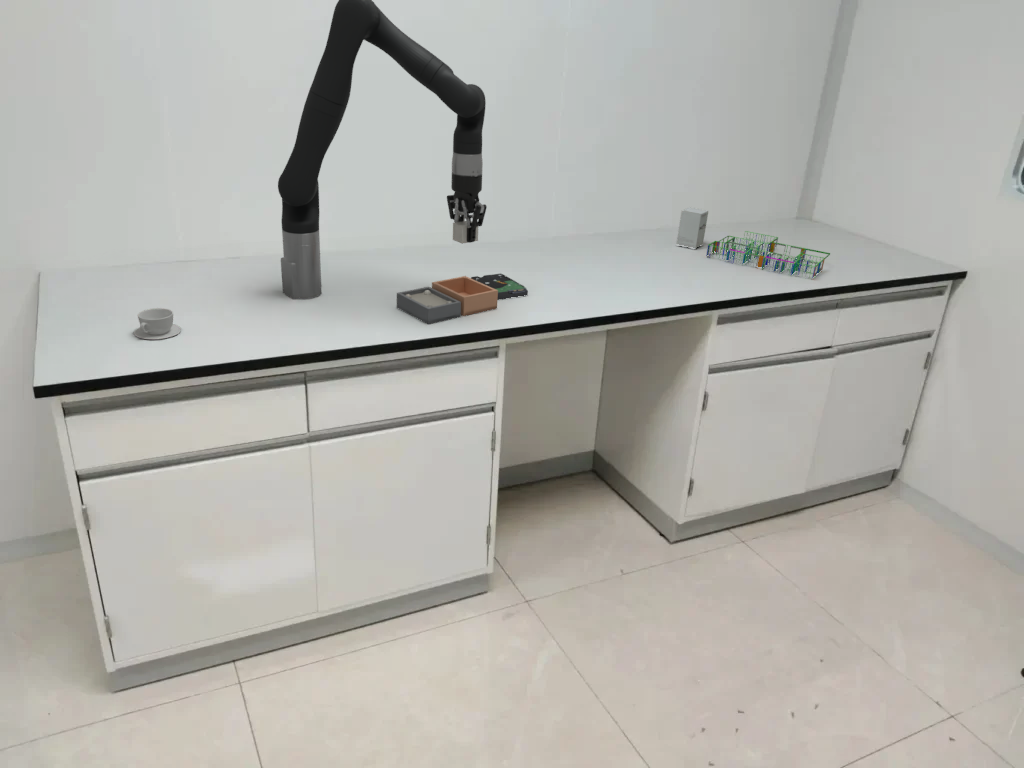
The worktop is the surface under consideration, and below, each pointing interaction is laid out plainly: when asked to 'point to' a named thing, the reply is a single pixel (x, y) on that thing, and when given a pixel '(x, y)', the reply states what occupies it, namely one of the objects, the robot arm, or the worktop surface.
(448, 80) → the robot arm
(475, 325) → the worktop surface
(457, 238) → the gray rectangular block
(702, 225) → the supplement box
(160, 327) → the teacup
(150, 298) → the worktop surface
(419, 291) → the gravel bin
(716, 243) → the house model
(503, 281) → the disk drive
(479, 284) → the terracotta bin
